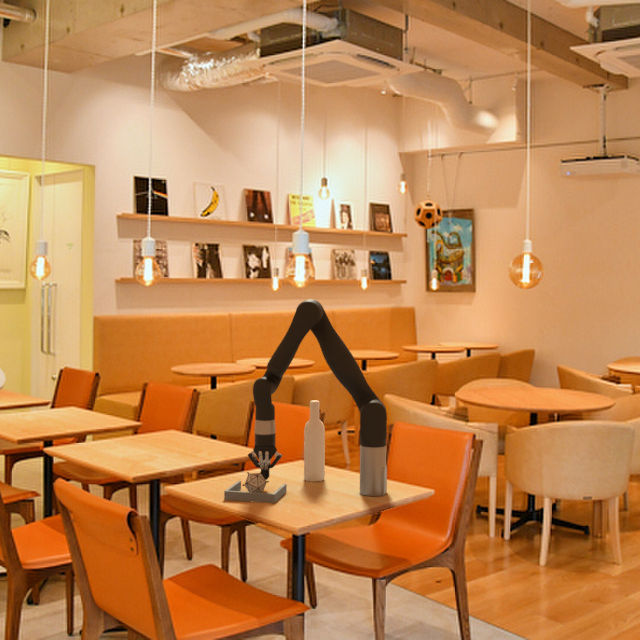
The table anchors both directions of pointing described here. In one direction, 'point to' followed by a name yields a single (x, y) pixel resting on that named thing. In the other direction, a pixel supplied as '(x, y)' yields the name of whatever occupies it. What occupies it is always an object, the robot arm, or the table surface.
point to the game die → (255, 482)
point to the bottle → (314, 445)
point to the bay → (253, 494)
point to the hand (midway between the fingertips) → (265, 479)
